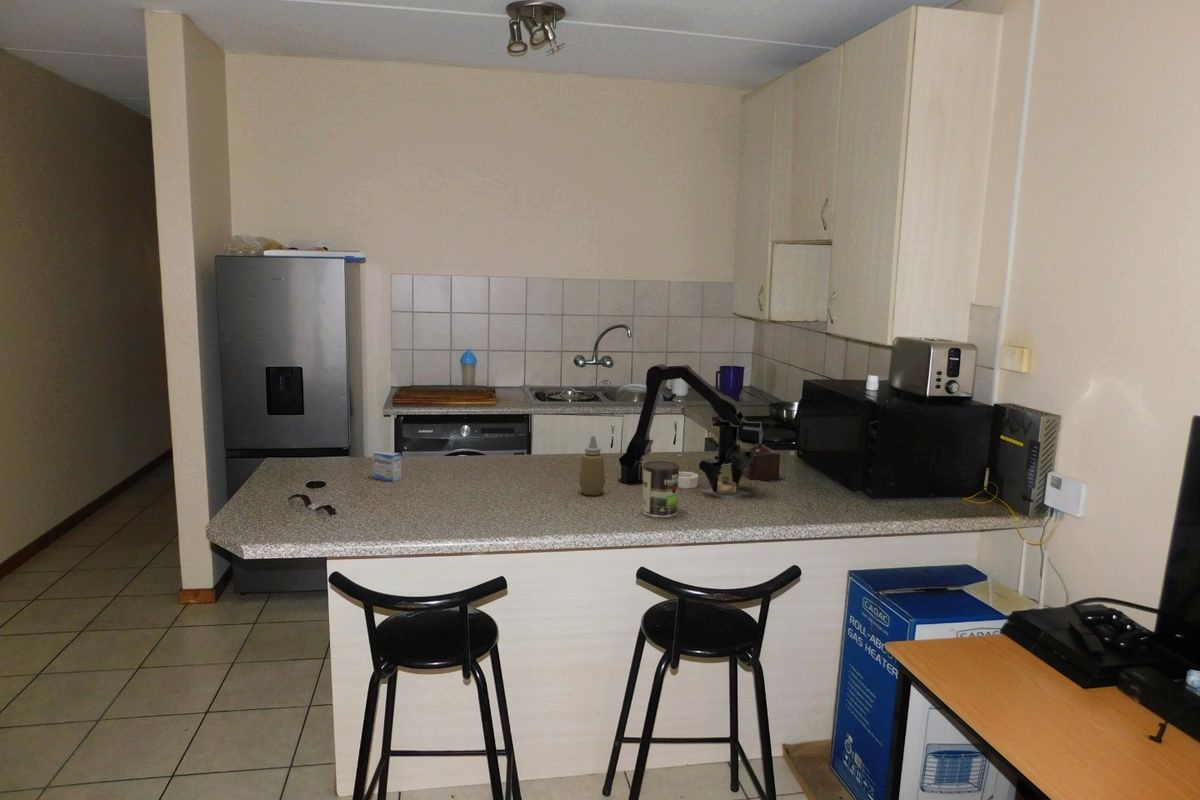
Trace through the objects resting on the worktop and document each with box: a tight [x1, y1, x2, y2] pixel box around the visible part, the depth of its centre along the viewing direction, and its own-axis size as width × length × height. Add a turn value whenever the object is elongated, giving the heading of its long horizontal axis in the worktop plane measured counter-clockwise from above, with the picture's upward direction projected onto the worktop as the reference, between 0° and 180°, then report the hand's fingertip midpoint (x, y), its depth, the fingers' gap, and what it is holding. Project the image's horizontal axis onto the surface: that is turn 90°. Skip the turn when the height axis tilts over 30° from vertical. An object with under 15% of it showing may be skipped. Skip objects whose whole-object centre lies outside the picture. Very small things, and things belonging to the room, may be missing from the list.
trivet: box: [699, 487, 751, 500], centre depth 250 cm, size 11×11×1 cm
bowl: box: [678, 471, 699, 489], centre depth 257 cm, size 8×8×4 cm
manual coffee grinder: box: [737, 428, 781, 482], centre depth 269 cm, size 16×11×18 cm
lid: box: [715, 476, 737, 495], centre depth 249 cm, size 7×7×5 cm
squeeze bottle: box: [578, 435, 606, 496], centre depth 245 cm, size 8×8×18 cm
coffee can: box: [641, 460, 680, 519], centre depth 228 cm, size 10×10×14 cm
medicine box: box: [372, 450, 402, 482], centre depth 257 cm, size 8×4×9 cm, turn 68°
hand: (725, 489), depth 250 cm, fingers open, 9 cm apart
